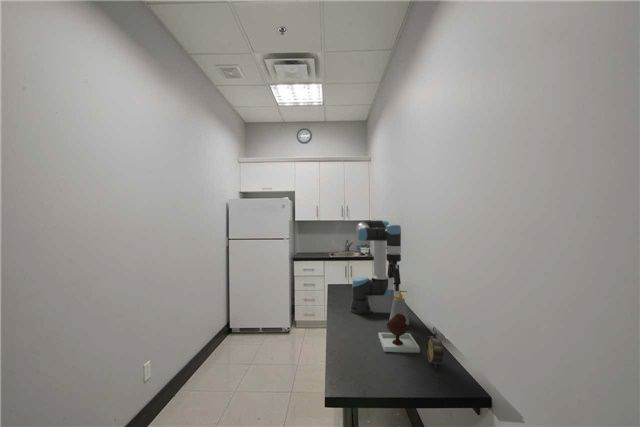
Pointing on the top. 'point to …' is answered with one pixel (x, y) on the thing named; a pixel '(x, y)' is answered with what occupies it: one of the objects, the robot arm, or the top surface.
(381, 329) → the top surface
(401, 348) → the tray
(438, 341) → the alarm clock
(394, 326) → the ice cream bowl
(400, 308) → the soap bottle
